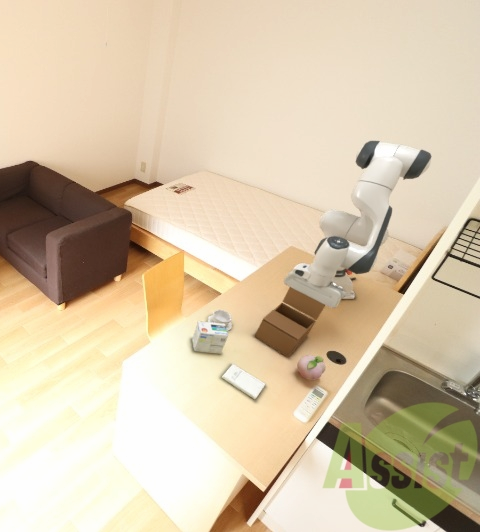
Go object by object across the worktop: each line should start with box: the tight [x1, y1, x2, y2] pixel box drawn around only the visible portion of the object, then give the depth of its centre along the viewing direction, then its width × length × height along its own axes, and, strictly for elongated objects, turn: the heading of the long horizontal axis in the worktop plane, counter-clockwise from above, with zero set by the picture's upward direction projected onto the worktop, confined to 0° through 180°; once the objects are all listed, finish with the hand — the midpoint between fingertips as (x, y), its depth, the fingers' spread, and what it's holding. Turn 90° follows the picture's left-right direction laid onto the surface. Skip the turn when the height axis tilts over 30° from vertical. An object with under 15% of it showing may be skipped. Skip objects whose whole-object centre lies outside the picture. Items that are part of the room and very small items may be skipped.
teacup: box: [207, 309, 233, 332], centre depth 151 cm, size 10×10×5 cm
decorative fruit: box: [296, 354, 326, 381], centre depth 129 cm, size 9×8×10 cm
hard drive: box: [221, 363, 266, 400], centre depth 128 cm, size 2×8×12 cm
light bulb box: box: [191, 320, 229, 355], centre depth 138 cm, size 11×7×11 cm, turn 84°
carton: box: [254, 302, 317, 358], centre depth 144 cm, size 17×14×10 cm
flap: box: [281, 286, 327, 321], centre depth 143 cm, size 8×14×1 cm
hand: (303, 302), depth 144 cm, fingers closed, pressing on flap
